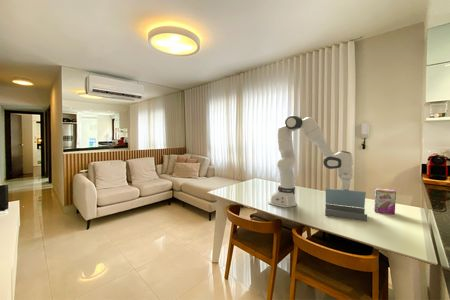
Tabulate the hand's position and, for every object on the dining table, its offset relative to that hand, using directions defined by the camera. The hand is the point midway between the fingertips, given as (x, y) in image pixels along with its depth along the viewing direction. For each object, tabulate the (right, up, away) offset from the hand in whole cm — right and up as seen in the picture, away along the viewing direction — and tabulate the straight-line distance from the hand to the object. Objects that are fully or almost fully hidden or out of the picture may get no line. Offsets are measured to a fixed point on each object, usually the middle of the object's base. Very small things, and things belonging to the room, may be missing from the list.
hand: (344, 193), depth 143 cm
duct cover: (0, -4, -1) cm, 4 cm away
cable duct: (-2, -15, -4) cm, 15 cm away
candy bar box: (+27, -14, -1) cm, 31 cm away
